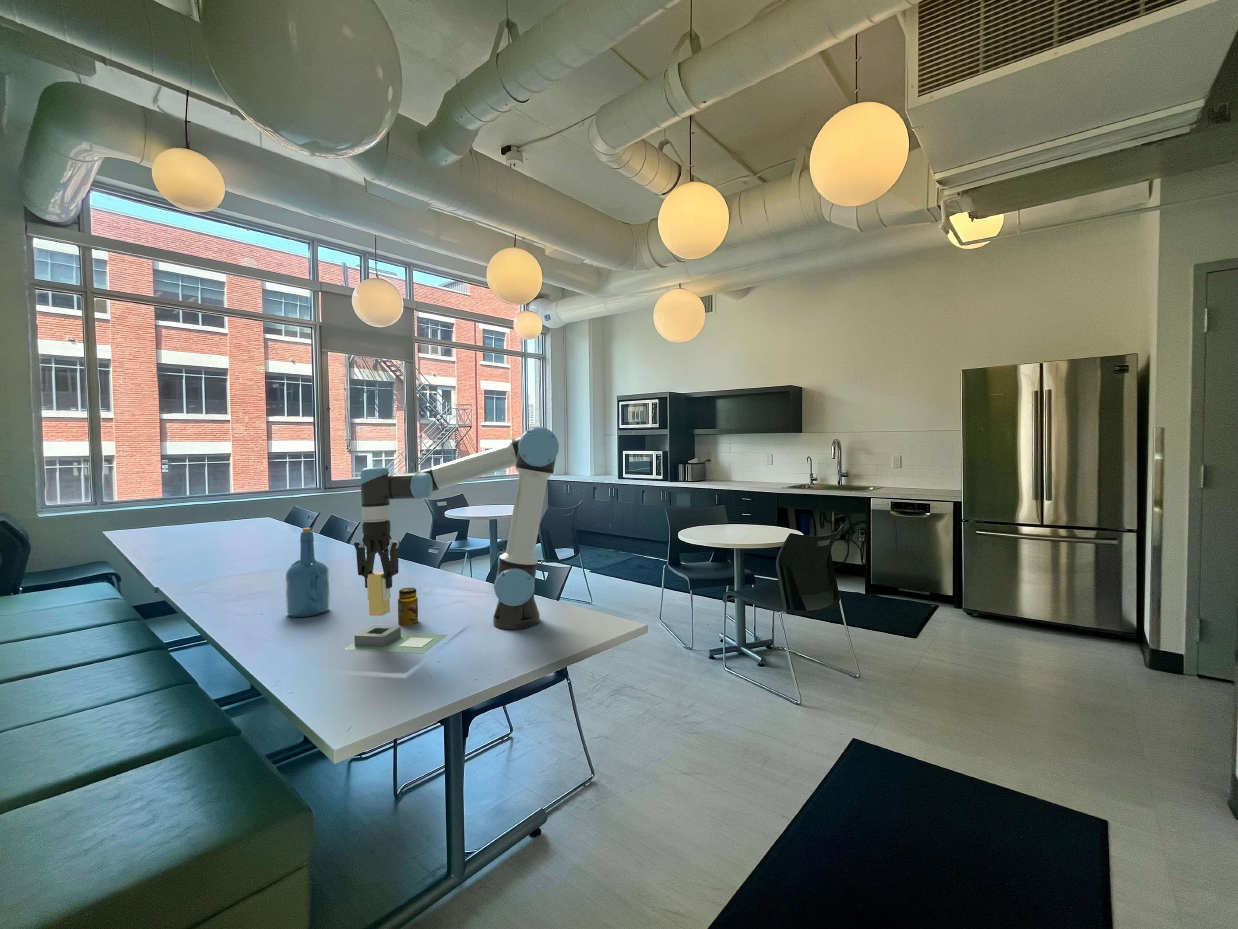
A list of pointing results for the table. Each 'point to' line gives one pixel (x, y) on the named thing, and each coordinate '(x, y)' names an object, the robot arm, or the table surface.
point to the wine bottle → (307, 582)
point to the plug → (377, 595)
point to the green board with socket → (393, 640)
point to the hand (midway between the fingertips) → (379, 599)
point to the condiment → (407, 606)
